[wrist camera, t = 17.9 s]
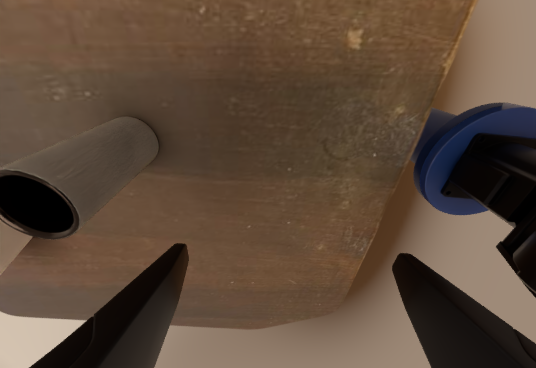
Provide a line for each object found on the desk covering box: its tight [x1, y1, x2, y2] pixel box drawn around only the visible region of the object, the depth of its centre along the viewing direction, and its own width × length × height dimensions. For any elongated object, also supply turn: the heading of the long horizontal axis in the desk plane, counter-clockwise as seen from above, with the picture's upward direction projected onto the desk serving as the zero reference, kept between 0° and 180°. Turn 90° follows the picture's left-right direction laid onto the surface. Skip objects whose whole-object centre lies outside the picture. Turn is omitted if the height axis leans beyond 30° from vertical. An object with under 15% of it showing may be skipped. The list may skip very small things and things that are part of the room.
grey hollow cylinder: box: [0, 116, 159, 240], centre depth 16 cm, size 4×4×10 cm
